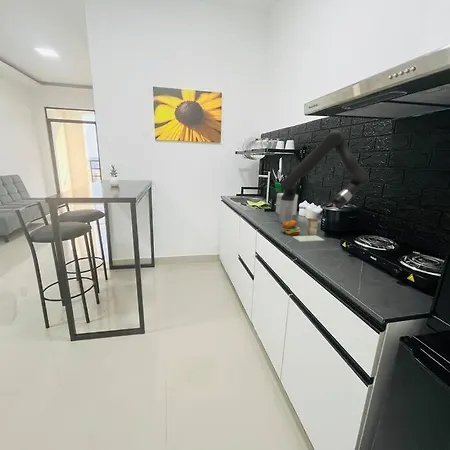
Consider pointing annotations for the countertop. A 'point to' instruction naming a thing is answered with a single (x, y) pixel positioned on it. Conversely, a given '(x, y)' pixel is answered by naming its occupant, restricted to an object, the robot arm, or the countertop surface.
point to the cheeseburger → (291, 227)
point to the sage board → (308, 238)
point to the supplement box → (278, 203)
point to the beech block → (311, 226)
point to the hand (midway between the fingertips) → (324, 216)
